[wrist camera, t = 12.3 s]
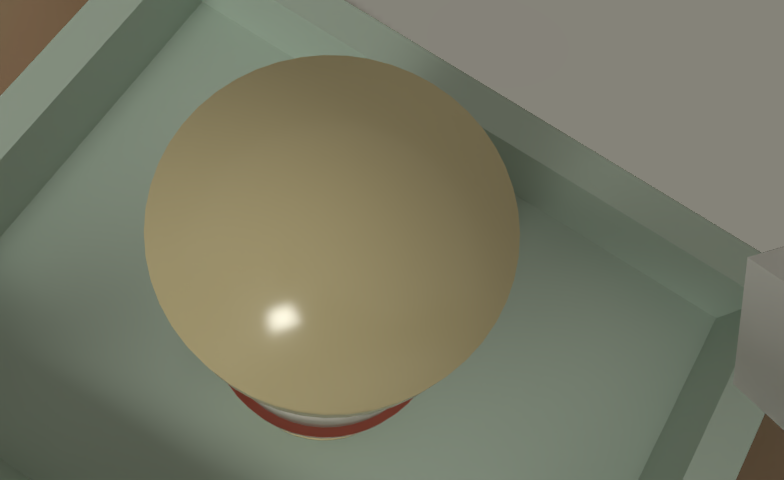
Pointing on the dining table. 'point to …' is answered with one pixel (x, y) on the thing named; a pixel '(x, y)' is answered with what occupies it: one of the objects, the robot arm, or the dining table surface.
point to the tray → (428, 409)
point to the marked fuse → (331, 240)
